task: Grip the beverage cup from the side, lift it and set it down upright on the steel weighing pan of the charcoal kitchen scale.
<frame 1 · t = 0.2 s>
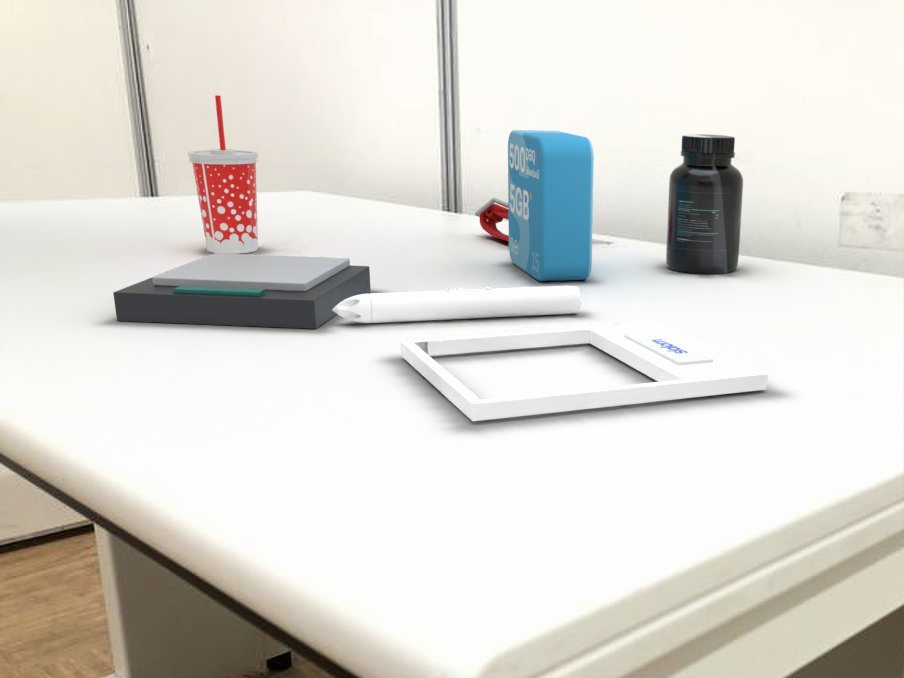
scale: (253, 304, 83), on the table
marker: (459, 321, 81), on the table
beverage cup: (232, 251, 106), on the table
data package: (548, 273, 100), on the table
tracker holder: (531, 242, 117), on the table
photo frame: (577, 375, 67), on the table
supplement bottle: (701, 270, 105), on the table
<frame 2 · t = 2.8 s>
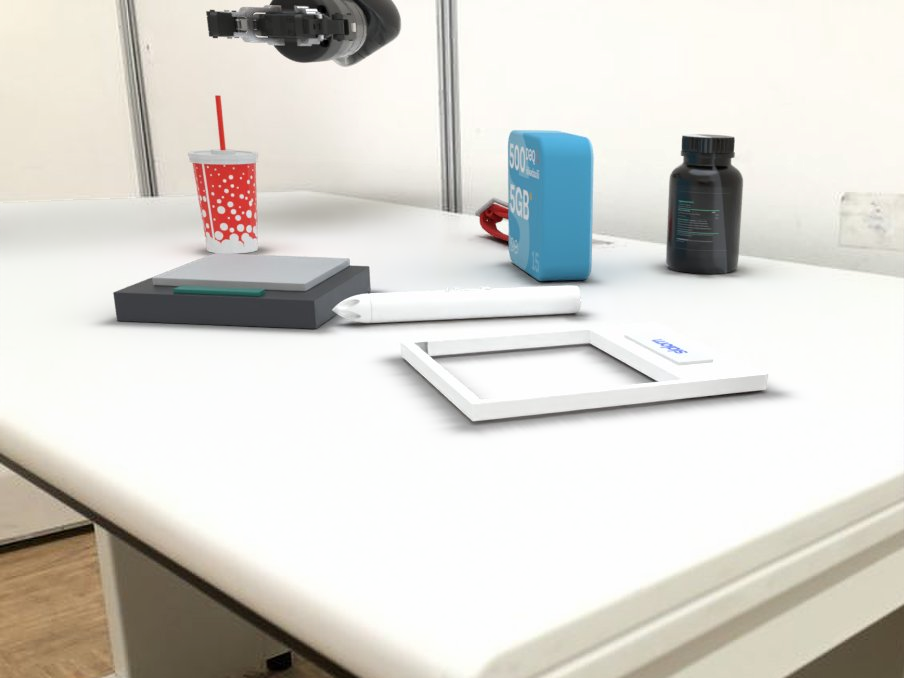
hand: (256, 25, 108), 20 cm above the table, tool horizontal, fingers open, 8 cm apart
nothing on the table moved.
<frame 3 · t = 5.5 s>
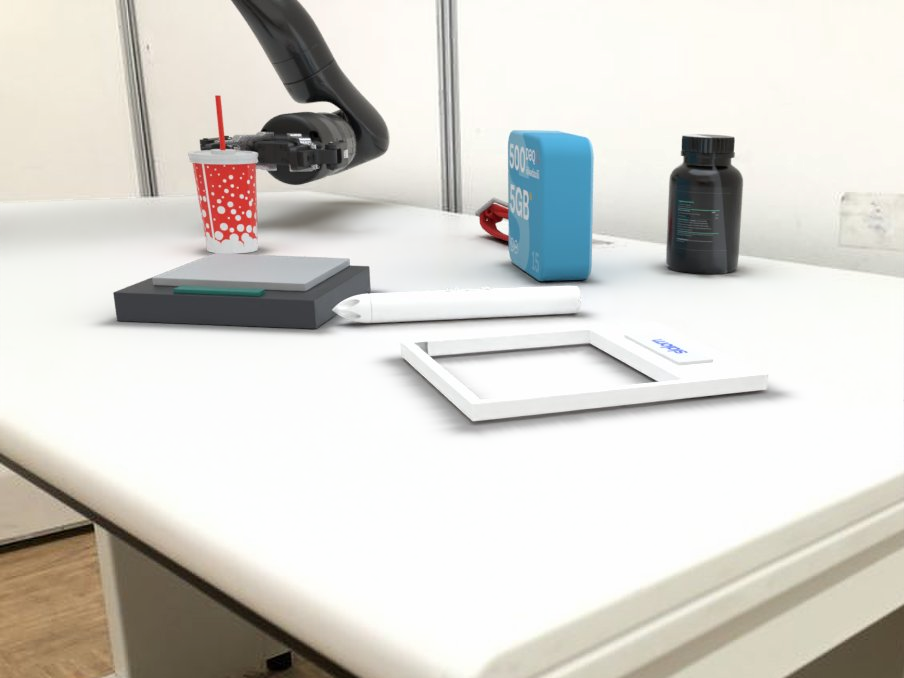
hand: (251, 157, 109), 8 cm above the table, tool horizontal, fingers open, 8 cm apart
nothing on the table moved.
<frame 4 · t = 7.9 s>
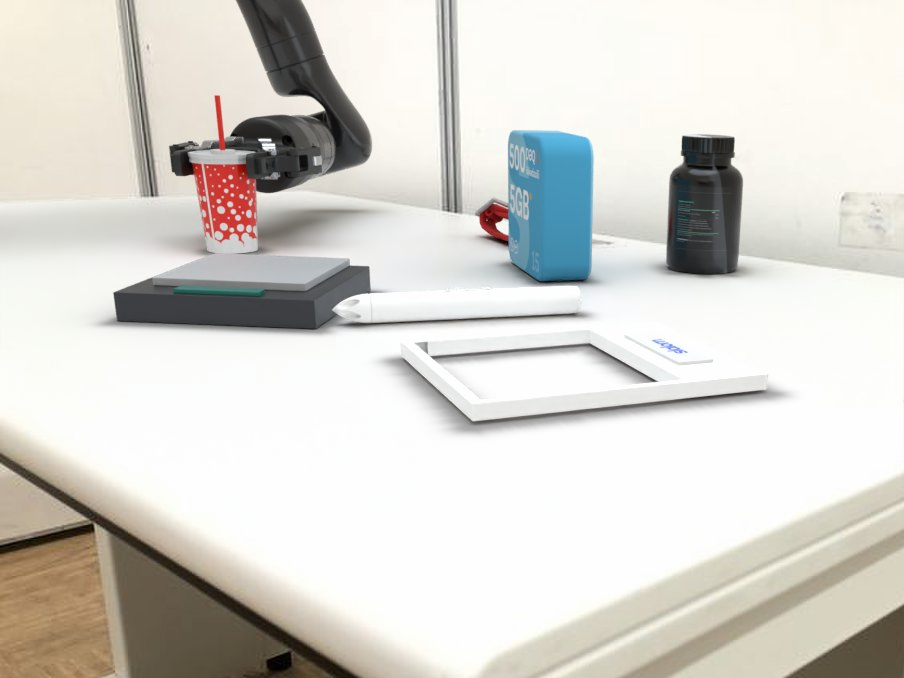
hand: (214, 165, 101), 8 cm above the table, tool horizontal, fingers closed on beverage cup, 6 cm apart
beverage cup: (233, 251, 106), on the table, touching gripper
everything else where it was.
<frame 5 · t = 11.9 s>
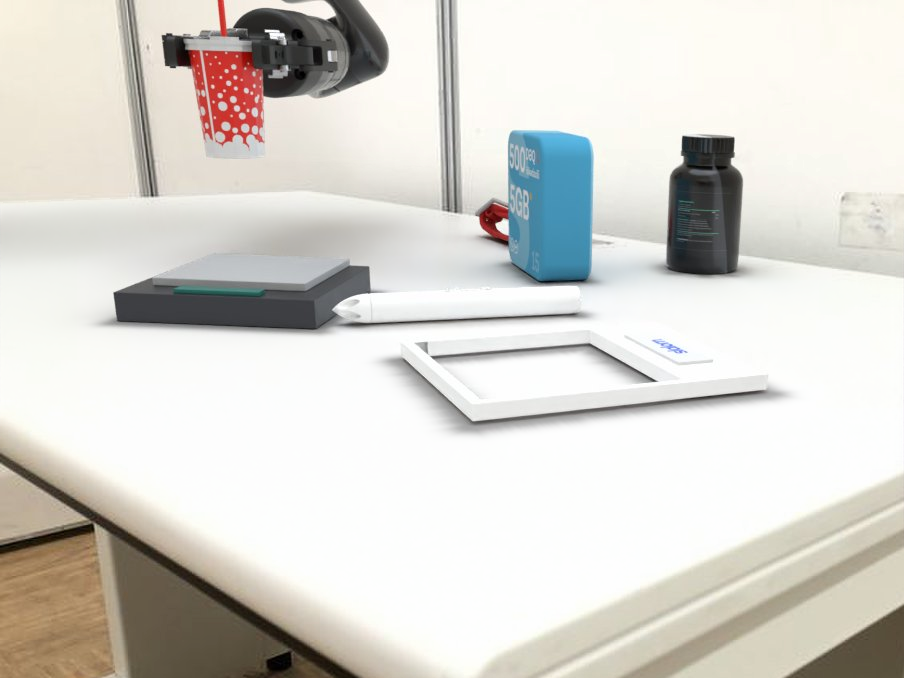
hand: (214, 52, 86), 18 cm above the table, tool horizontal, fingers closed on beverage cup, 6 cm apart
beverage cup: (236, 158, 92), point 9 cm above the table, touching gripper
everything else where it was.
when the fingers open (11 cm above the table, at t = 16.2 s): beverage cup stays where it is, resting on scale.
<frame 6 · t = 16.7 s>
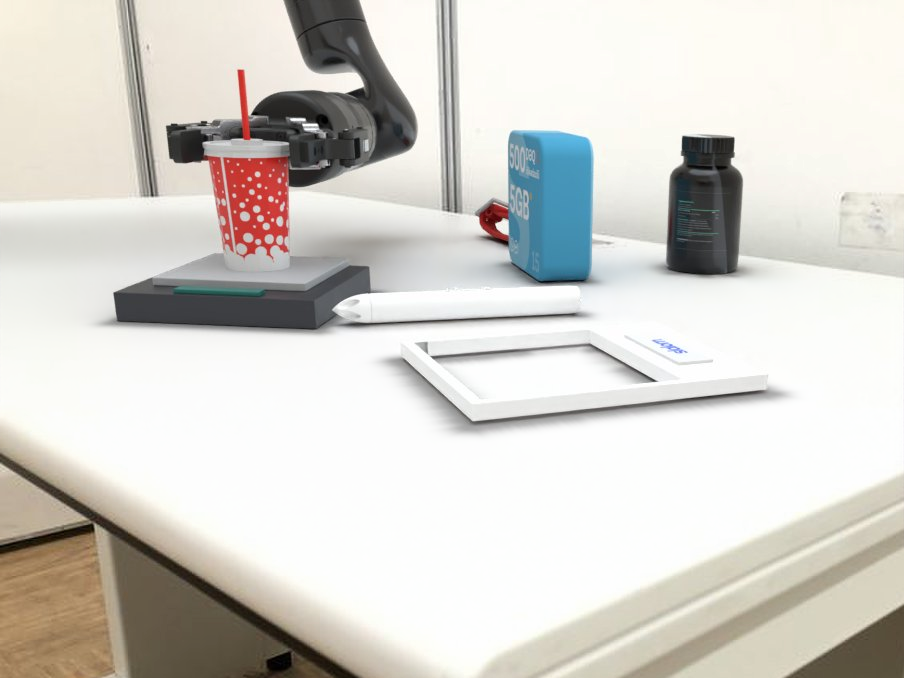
hand: (235, 150, 78), 11 cm above the table, tool horizontal, fingers open, 8 cm apart
beverage cup: (258, 269, 84), point 2 cm above the table, touching scale
everything else where it was.
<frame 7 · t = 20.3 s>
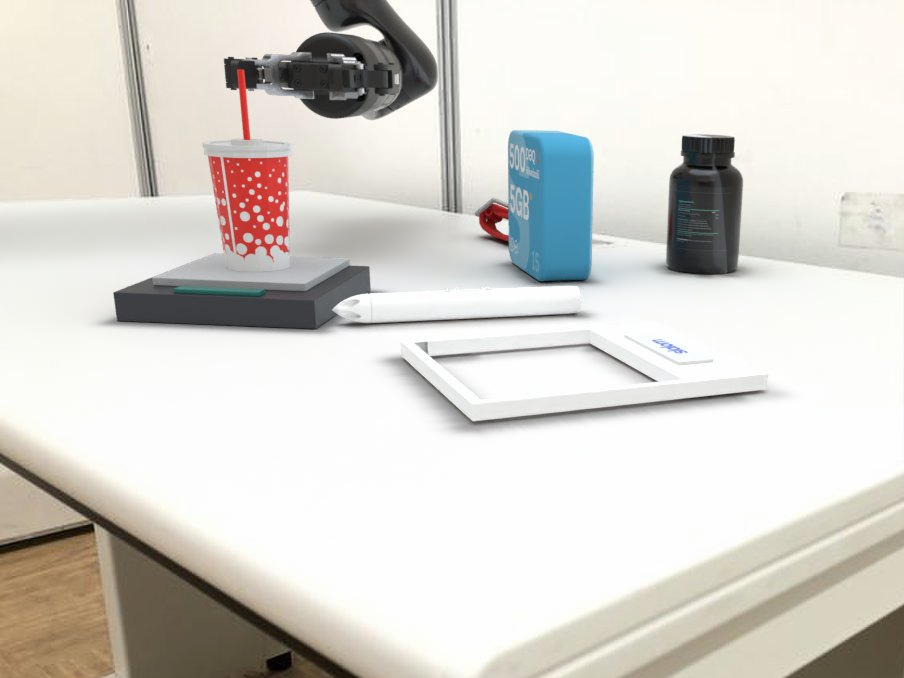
hand: (286, 76, 91), 16 cm above the table, tool horizontal, fingers open, 8 cm apart
nothing on the table moved.
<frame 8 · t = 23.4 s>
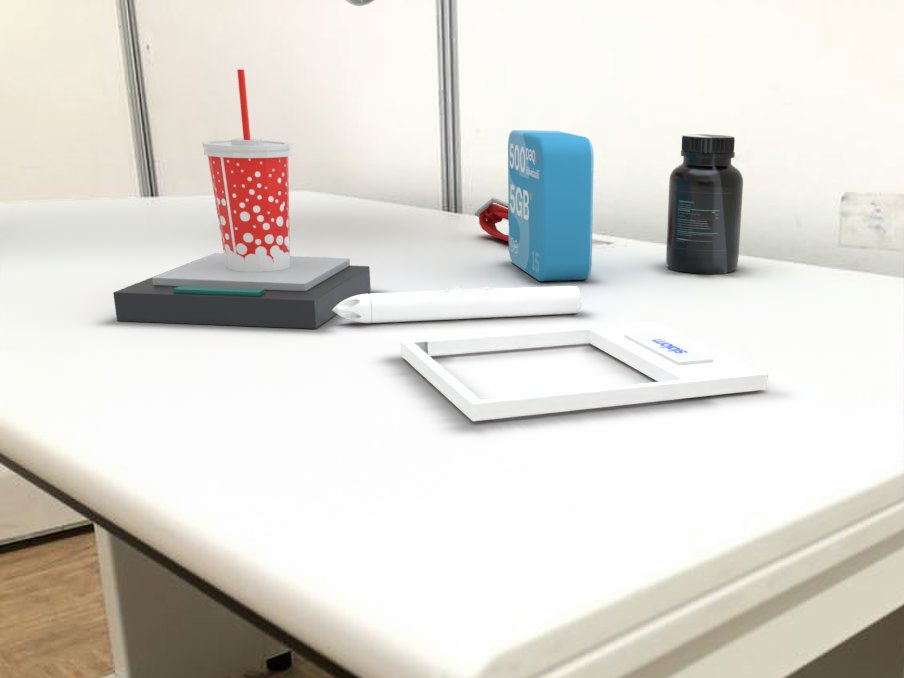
nothing on the table moved.
at the end: beverage cup inside the target area on the scale (0.3 cm from its centre), point 2.4 cm above the scale's base; beverage cup tilted 0°; the gripper is holding nothing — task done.
